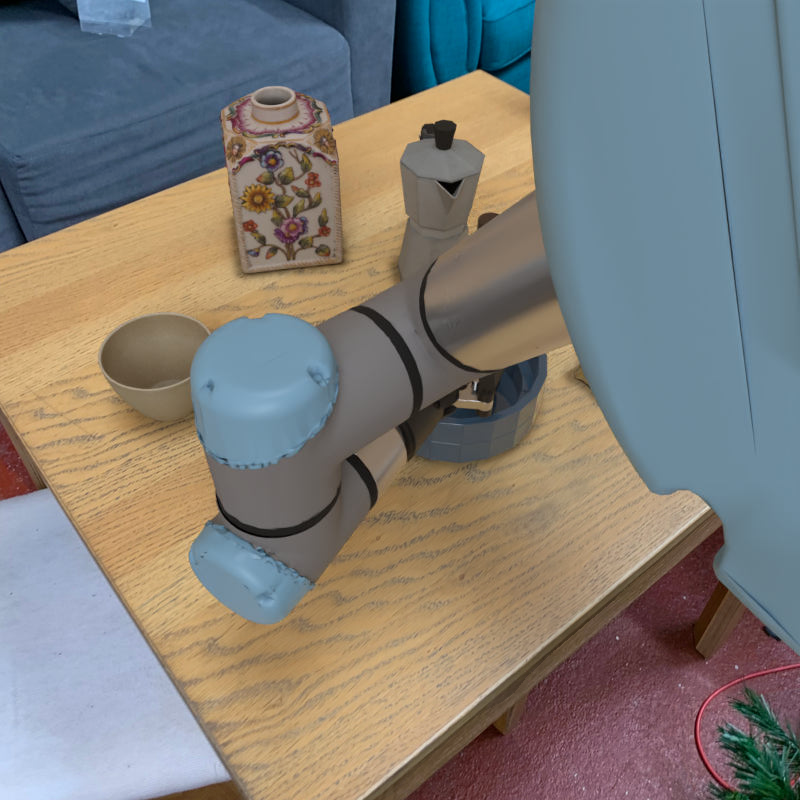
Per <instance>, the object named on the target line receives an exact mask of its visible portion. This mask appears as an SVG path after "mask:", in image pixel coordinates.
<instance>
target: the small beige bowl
mask: <svg viewBox="0 0 800 800" xmlns="http://www.w3.org/2000/svg"><path fill="white" fill-rule="evenodd" d="M211 333H212V332H211V330H210V329H209V327H207V325H205V324H204V323H203V322H202V321H200V320H199V319H198V318H195V317H193V316H191V315H187V314H184V313H179V312H171V311H161V312H150V313H146V314H142V315H138V316H135V317H133V318H130V319H128V320H126V321H124V322H123V323H121V324H120V325H119V324H118V326H116V327H115V328H114V329H113V330H112V331H110V332H109V333H108V334H107V336H106V337H105V338H104V339H103V341H102V342H101V344H100V346H99V349H98V354H97V362H98V366H99V369H100V371H101V373H102V375H103V377H104V378H105V380H106V381H107V383H108V384H109V386H110V387H111V388H112V390H113V391H114V392H115V393H116V394H117V395H118V396H119V398H121V399H122V400H123V401H124V403H126V404H127V405H128V406H129V407H131V408H132V409H134V410H135V411H137V412H138V413H140V415H143V416H144V417H148V418H149V419H152V420H155V421H156V422H164V423H170V422H176V421H179V420H183V419H184V418H186V417H188V416H189V415H191V414H192V413H193V412H194V409H193V404H192V398H191V384H190V371H191V365H192V361H193V358H194V356H195V354H196V352H197V350H198V348H199V347H200V345H201V344H202V342H203V341H204V340H205V339H206V338H207V337H208V336H209V335H210V334H211Z"/></svg>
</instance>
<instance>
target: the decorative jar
mask: <svg viewBox="0 0 800 800" xmlns="http://www.w3.org/2000/svg"><path fill="white" fill-rule="evenodd" d="M218 119H219V122H220V128H219V129H220V132H221V141H222V148H223V151H224V161H225V164H224V165H225V168H226V170H227V176H228V177H227V180H228V182H227V184H228V187H229V188H228V189H229V194H230V202H231V204H232V214H233V220H234V228H235V233H236V240H237V246H238V254H239V261H240V267H241V271H242V272H243V273H244V274H254V273H261V272H271V271H278V270H279V271H280V270H288V269H297V268H306V267H316V266H326V265H333V264H340V263H342V261H343V256H344V255H343V249H344V248H343V218H342V217H343V216H342V200H341V199H342V198H341V178H340V162H339V161H340V157H339V153H338V146H337V140H336V139H335V137H334V134H333V133H334V128H333V126H332V121H331V115H330V111H329V109H328V108H327V106H326V104H325V102H323V101H320V100H318V99H316V98H313V97H312V96H310V95H307V94H304V93H302V92H298V91H295V90H293V89H291V88H290V87H287V86H282V85H272V86H270V85H269V86H264V87H262V88H258V89H256V90H255V91H254V92H251V93H248V94H246V95H244V96H241V97H240V98H238V99H236V100H234V101H233V102H231V103H230V104H228V105H227V106H225V107H224V108H222V109H221V110H220V114H219V117H218Z"/></svg>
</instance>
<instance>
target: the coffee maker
mask: <svg viewBox="0 0 800 800" xmlns="http://www.w3.org/2000/svg"><path fill="white" fill-rule="evenodd" d="M457 126H458V124H457V123H455V122H454V121H453V120H449V119H439V120H437V121H434V123H431V122H430V123H424V124H423V125H422V126H421V129H420V133H419V134H418V139H419V140H415V141H413V142H409V143H407V144H406V146H405V148H404V151H403V152H402V155H401V157H400V159H399V169H400V178H401V185H402V193H403V201H404V202H403V204H404V211H405V215H407V216H408V218H407V220H406V225H405V229H404V232H403V233H404V234H403V238H402V243H401V248H400V251H399V256H398V261H397V269H398V274H399V277H400V282H401V281H403V280H404V279H406V278H408V277H409V276H411V275H413V274H414V273H416V272H417V271H418V270H420V269H421V268H423V267H424V266H426V265H427V264H428V263H430V262H431V261H433V260H434V259H436V258H437V257H439V256H441V255H442V254H444V253H445V252H446V251H448V250H449V249H451V248H452V247H454V246H455V245H456V244H458V243H459V242H461V241H462V240H464V239H465V238H466V237H468V236H469V235H470V233H469V232H470V231H469V226H468V221H469V216H470V213H471V211H472V208H473V204H474V201H475V197H476V193H477V189H478V186H479V185H478V184H479V182H480V181H479V180H480V177H481V173H482V169H483V166H484V161H485V158H486V155H485V153H483V152H482V151H481V150H479V149H478V148H477V147H476V146H474V145H473V144H472V143H470V142H469V141H468V140H466V139H460V138H459V139H458V138H455V134H456V130H457Z"/></svg>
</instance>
